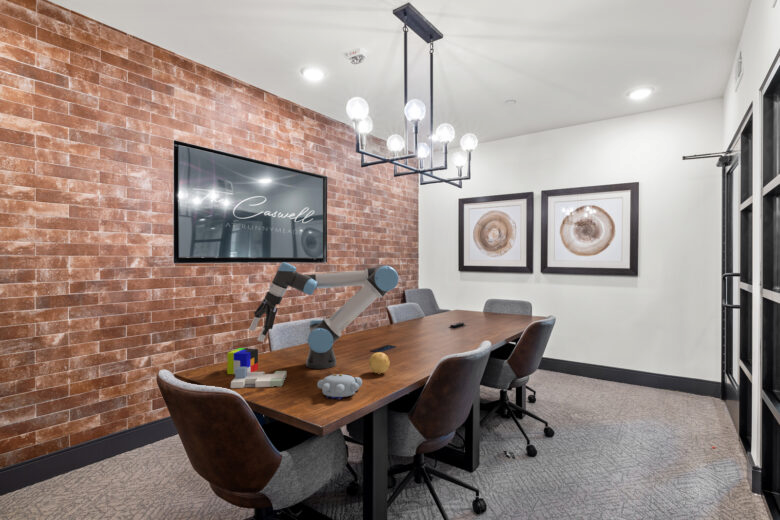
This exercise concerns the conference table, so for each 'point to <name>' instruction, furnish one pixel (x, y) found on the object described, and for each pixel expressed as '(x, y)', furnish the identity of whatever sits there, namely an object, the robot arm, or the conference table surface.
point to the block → (240, 372)
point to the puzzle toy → (242, 360)
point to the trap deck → (260, 380)
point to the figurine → (339, 385)
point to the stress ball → (379, 362)
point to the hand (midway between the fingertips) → (255, 335)
